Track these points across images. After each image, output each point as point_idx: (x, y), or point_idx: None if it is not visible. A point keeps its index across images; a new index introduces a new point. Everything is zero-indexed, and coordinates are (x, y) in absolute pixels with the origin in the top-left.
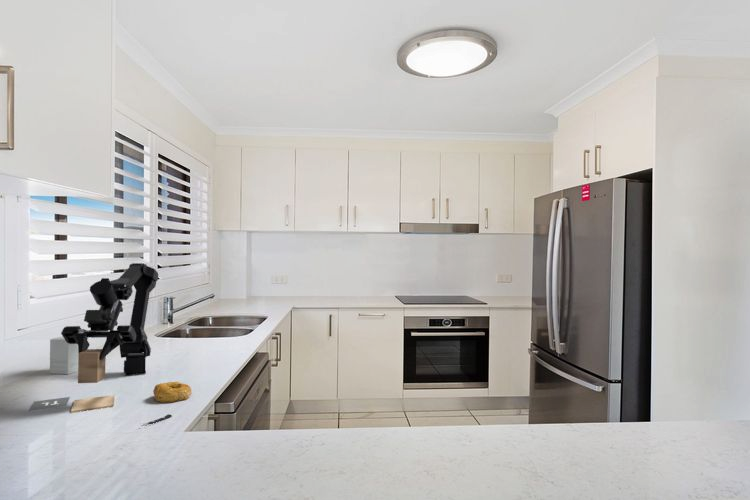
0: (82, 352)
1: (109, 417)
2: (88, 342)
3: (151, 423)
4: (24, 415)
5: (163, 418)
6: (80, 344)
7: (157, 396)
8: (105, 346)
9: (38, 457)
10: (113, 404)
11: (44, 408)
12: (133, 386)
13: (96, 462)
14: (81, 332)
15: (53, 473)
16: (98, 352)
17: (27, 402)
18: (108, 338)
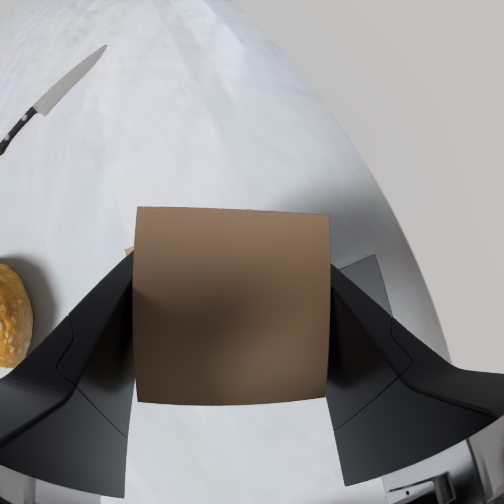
0: (310, 251)
1: (114, 157)
2: (361, 481)
3: (28, 111)
4: (365, 221)
5: (7, 134)
6: (401, 343)
7: (12, 274)
8: (84, 323)
9: (198, 11)
10: (127, 254)
11: (345, 270)
12: (159, 464)
13: (111, 3)
14: (501, 458)
15: None
16: (136, 222)
17: None
18: (25, 399)
